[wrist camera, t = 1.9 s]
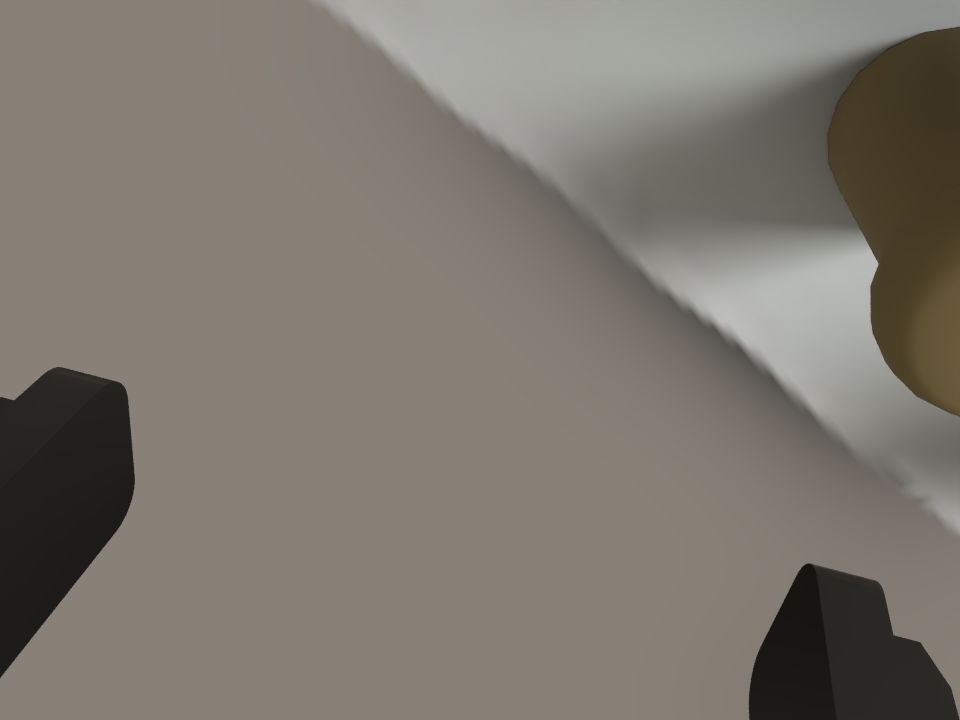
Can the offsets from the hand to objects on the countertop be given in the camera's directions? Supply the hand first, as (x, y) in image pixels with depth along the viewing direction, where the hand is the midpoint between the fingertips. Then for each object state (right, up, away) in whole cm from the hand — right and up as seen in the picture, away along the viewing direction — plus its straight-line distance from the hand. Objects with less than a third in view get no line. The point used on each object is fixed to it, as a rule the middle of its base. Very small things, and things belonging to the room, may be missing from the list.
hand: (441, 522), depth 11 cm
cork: (+14, +8, +15) cm, 22 cm away
